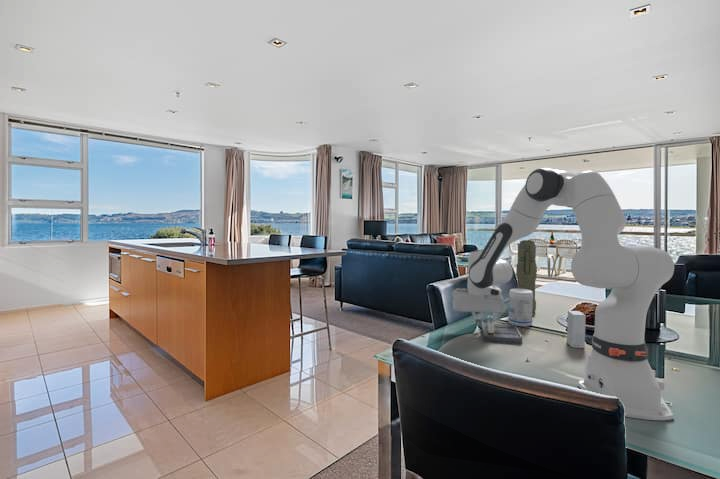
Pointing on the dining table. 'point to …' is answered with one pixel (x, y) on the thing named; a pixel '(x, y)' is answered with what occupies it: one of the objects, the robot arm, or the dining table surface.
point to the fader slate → (490, 319)
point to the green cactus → (527, 268)
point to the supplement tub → (520, 307)
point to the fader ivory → (490, 327)
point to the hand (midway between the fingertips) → (478, 322)
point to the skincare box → (576, 329)
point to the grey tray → (502, 333)
